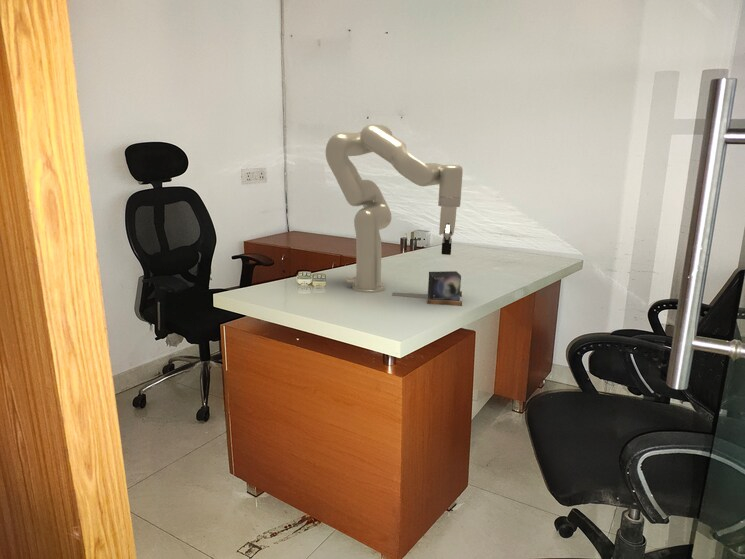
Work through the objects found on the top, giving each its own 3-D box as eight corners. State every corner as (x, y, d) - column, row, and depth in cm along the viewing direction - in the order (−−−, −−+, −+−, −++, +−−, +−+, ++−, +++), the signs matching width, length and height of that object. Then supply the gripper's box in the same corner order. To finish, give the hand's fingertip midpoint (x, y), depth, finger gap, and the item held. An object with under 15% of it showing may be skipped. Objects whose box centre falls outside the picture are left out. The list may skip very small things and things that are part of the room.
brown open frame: (427, 306, 181) (427, 300, 181) (429, 294, 194) (429, 289, 194) (461, 308, 179) (462, 302, 179) (461, 296, 193) (461, 291, 192)
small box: (431, 304, 183) (432, 275, 180) (426, 299, 189) (428, 271, 186) (460, 303, 184) (461, 275, 182) (455, 298, 191) (456, 270, 188)
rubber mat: (389, 302, 185) (389, 301, 184) (392, 293, 195) (392, 292, 195) (425, 304, 183) (426, 303, 182) (427, 295, 193) (427, 294, 193)
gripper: (439, 198, 187) (436, 246, 191) (437, 204, 170) (434, 256, 175) (460, 199, 186) (457, 247, 190) (460, 205, 169) (457, 258, 174)
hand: (446, 251), depth 182 cm, fingers open, 7 cm apart
